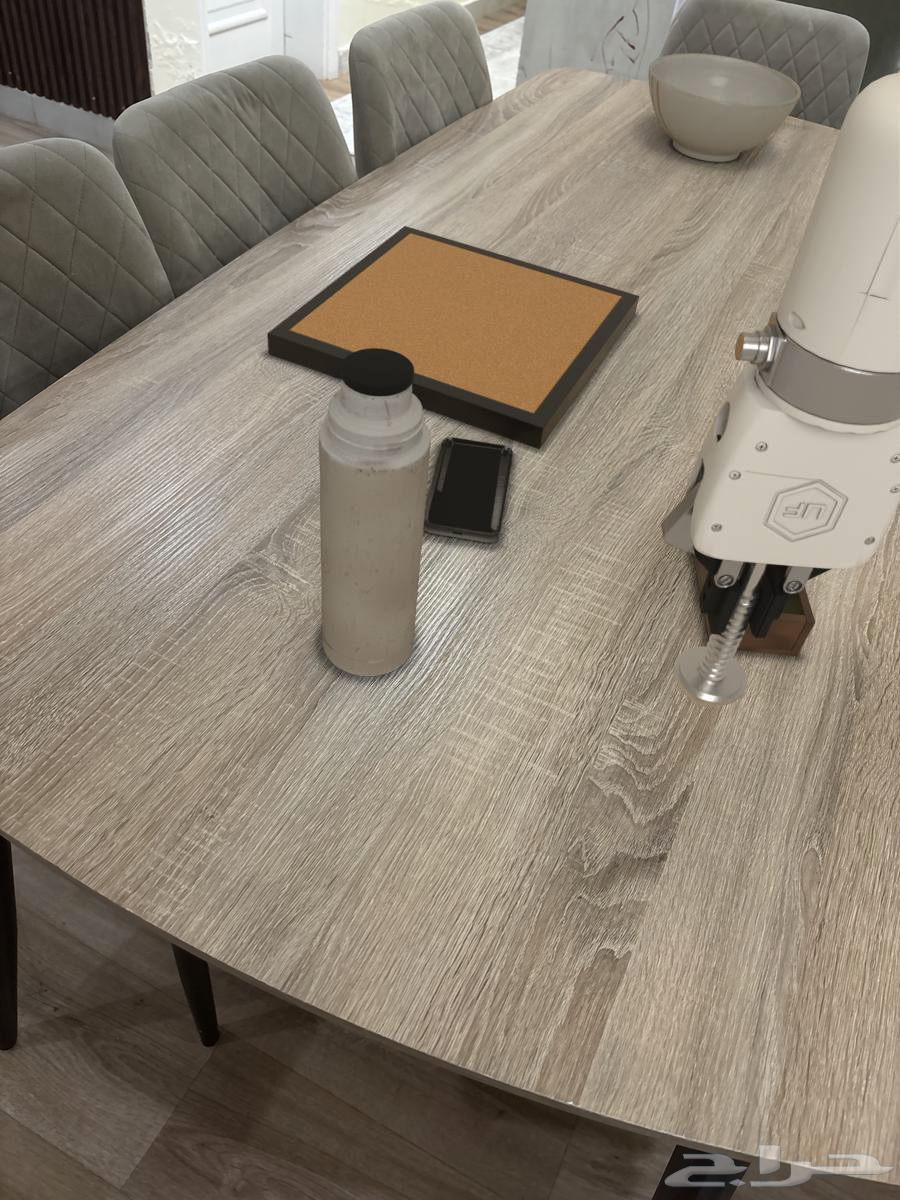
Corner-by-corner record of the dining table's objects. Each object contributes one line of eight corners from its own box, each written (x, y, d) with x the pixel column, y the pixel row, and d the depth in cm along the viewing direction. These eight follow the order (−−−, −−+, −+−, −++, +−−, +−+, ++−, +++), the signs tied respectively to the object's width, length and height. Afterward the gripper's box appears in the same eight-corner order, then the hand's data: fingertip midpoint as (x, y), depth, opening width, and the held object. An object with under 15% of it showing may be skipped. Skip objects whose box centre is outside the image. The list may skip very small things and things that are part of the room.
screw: (746, 684, 65) (725, 733, 62) (680, 655, 66) (657, 702, 63) (810, 547, 56) (789, 596, 53) (732, 517, 57) (707, 564, 54)
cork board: (403, 244, 136) (268, 354, 113) (404, 225, 134) (267, 332, 111) (634, 315, 128) (539, 449, 105) (639, 295, 126) (543, 428, 103)
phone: (513, 446, 102) (499, 536, 92) (512, 455, 103) (497, 545, 93) (442, 435, 103) (420, 523, 92) (441, 444, 104) (419, 532, 93)
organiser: (766, 543, 97) (781, 509, 93) (797, 656, 86) (815, 622, 83) (689, 535, 96) (701, 501, 93) (710, 647, 86) (725, 613, 82)
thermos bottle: (319, 611, 85) (312, 333, 65) (406, 606, 86) (427, 331, 66) (326, 680, 79) (321, 400, 59) (419, 673, 81) (446, 396, 61)
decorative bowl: (604, 138, 173) (618, 66, 165) (691, 112, 187) (708, 45, 179) (722, 190, 161) (744, 115, 152) (806, 159, 175) (830, 89, 166)
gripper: (689, 394, 43) (612, 655, 56) (1032, 423, 43) (874, 676, 56) (670, 311, 48) (603, 567, 61) (976, 337, 48) (843, 587, 62)
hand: (734, 618), depth 59 cm, fingers closed on screw, 2 cm apart
